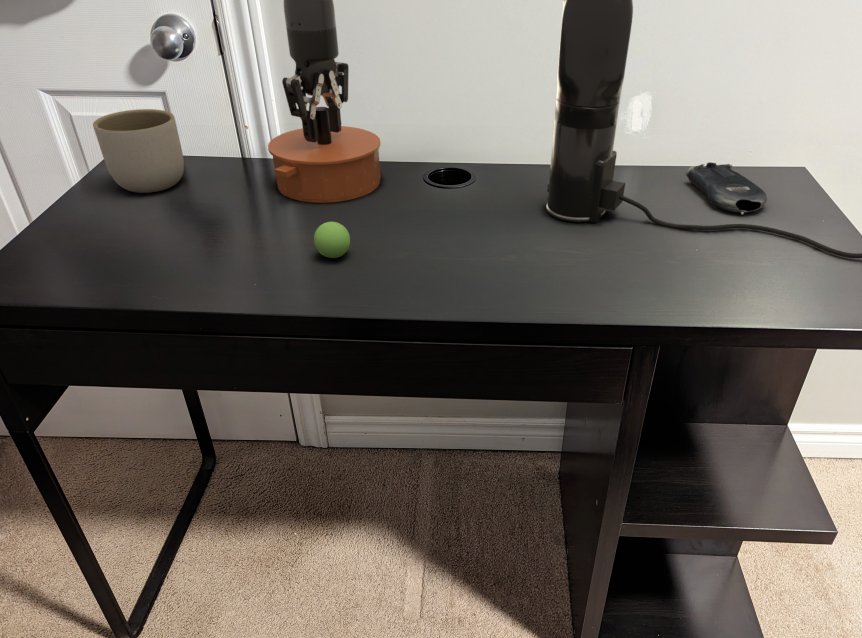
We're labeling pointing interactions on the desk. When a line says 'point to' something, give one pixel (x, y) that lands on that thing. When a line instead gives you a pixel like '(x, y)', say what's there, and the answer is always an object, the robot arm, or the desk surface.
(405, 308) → the desk surface
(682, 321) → the desk surface
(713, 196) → the electronic device
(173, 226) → the desk surface
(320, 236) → the ball
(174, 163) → the planter
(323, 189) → the pan
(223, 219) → the desk surface
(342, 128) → the lid
